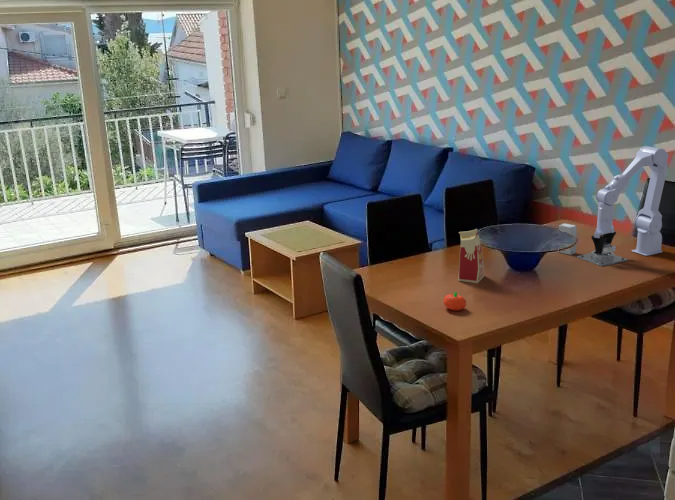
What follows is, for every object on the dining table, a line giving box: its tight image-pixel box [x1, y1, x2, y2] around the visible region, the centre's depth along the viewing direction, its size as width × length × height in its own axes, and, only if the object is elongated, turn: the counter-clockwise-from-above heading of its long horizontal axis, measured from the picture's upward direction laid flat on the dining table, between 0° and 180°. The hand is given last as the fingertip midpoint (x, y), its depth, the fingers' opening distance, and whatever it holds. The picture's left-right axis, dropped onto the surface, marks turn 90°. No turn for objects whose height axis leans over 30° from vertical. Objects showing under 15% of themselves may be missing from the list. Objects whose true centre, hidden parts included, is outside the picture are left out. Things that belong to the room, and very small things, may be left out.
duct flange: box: [576, 250, 629, 267], centre depth 290 cm, size 14×14×2 cm
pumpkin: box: [443, 291, 467, 311], centre depth 245 cm, size 7×8×6 cm
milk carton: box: [457, 228, 485, 284], centre depth 272 cm, size 9×9×20 cm
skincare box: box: [558, 222, 578, 256], centre depth 299 cm, size 6×4×12 cm
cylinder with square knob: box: [597, 242, 616, 256], centre depth 289 cm, size 5×7×6 cm
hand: (602, 250), depth 290 cm, fingers open, 7 cm apart
